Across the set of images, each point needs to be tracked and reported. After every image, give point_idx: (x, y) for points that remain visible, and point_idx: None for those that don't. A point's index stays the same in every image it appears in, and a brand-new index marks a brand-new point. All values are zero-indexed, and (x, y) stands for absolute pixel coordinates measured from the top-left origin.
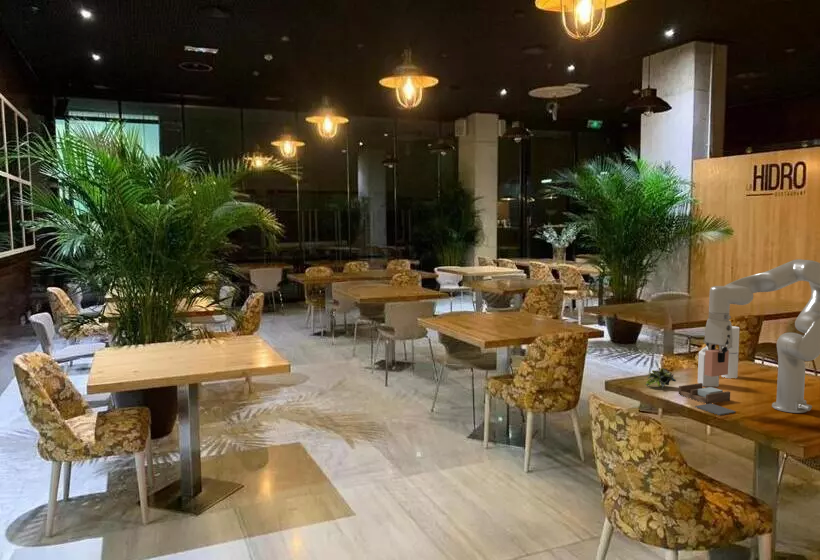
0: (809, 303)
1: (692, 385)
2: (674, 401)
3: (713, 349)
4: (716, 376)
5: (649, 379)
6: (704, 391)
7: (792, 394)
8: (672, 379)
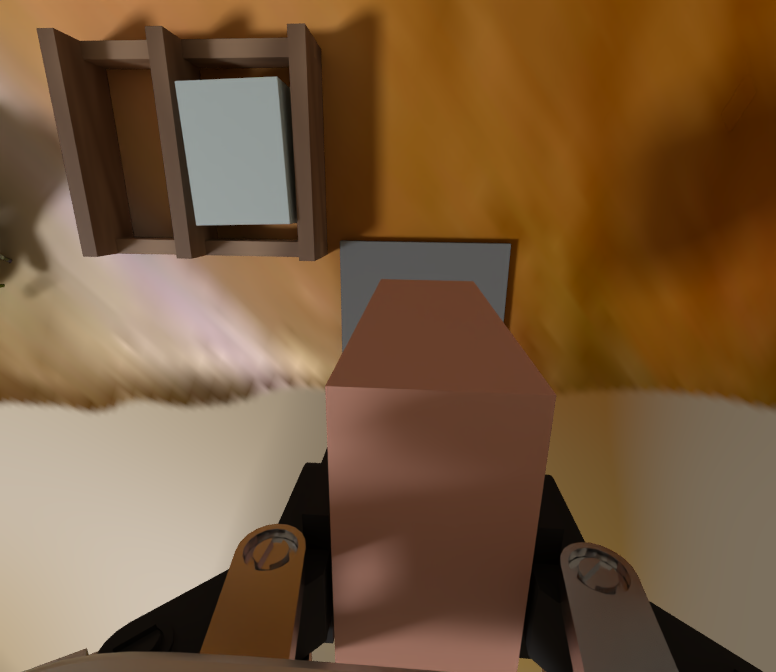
0: None
1: (77, 143)
2: (223, 367)
3: (326, 605)
4: None
5: None
6: (251, 224)
7: None
8: None
